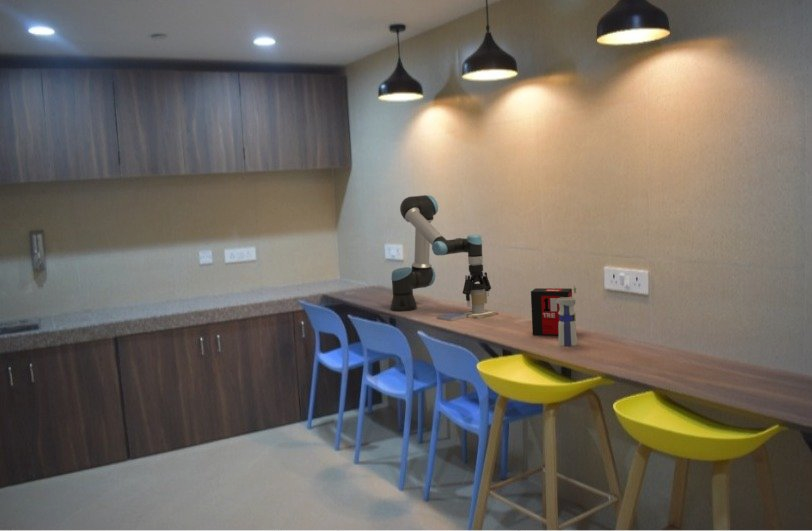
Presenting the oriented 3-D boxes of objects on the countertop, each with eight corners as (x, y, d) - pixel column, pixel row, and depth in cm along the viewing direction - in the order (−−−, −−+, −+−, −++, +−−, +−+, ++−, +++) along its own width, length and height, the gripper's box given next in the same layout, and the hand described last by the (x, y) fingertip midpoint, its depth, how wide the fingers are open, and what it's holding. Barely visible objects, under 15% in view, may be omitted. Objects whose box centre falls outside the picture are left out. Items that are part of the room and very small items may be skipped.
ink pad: (437, 318, 364) (437, 315, 363) (452, 315, 370) (452, 312, 370) (451, 321, 355) (451, 317, 355) (466, 317, 362) (466, 314, 362)
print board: (458, 315, 368) (458, 313, 368) (478, 311, 377) (478, 309, 377) (478, 318, 356) (478, 316, 356) (498, 314, 365) (498, 311, 365)
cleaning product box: (532, 335, 312) (530, 291, 309) (537, 331, 320) (535, 288, 317) (569, 336, 305) (567, 291, 303) (573, 332, 313) (571, 288, 311)
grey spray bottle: (578, 341, 295) (575, 283, 292) (578, 346, 286) (576, 286, 283) (558, 341, 297) (556, 284, 294) (558, 346, 288) (555, 287, 285)
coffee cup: (486, 314, 361) (485, 286, 359) (468, 314, 363) (467, 286, 361) (487, 310, 370) (486, 283, 368) (470, 311, 372) (469, 283, 370)
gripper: (464, 267, 353) (466, 309, 356) (496, 261, 368) (498, 302, 370) (454, 266, 359) (456, 307, 361) (486, 261, 374) (488, 300, 376)
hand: (477, 305), depth 366 cm, fingers open, 11 cm apart
